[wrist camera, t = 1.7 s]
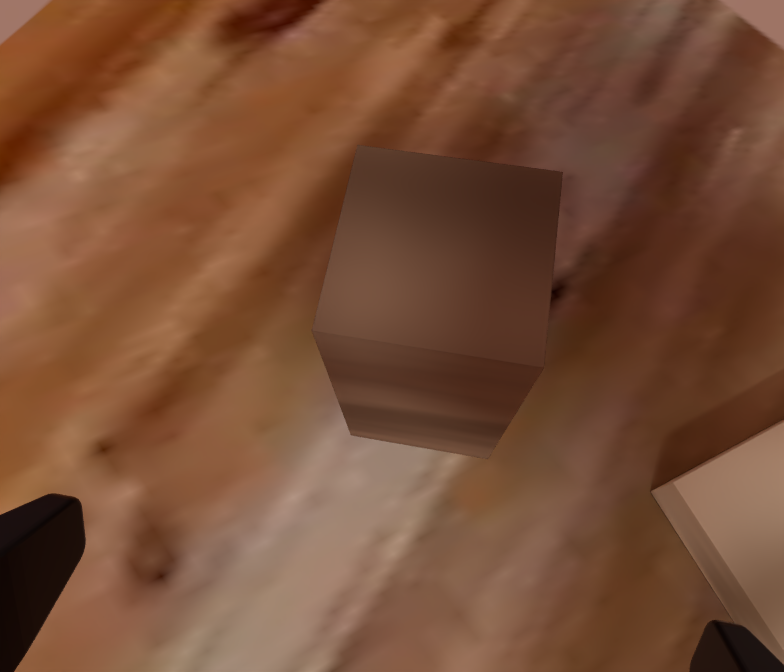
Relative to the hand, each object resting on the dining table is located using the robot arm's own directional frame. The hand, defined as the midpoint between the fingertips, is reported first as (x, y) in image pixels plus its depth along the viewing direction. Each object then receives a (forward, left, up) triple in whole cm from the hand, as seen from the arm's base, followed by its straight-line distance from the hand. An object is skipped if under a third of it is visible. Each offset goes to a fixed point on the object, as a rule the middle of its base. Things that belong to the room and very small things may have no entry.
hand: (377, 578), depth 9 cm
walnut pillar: (+6, -4, -13) cm, 15 cm away
